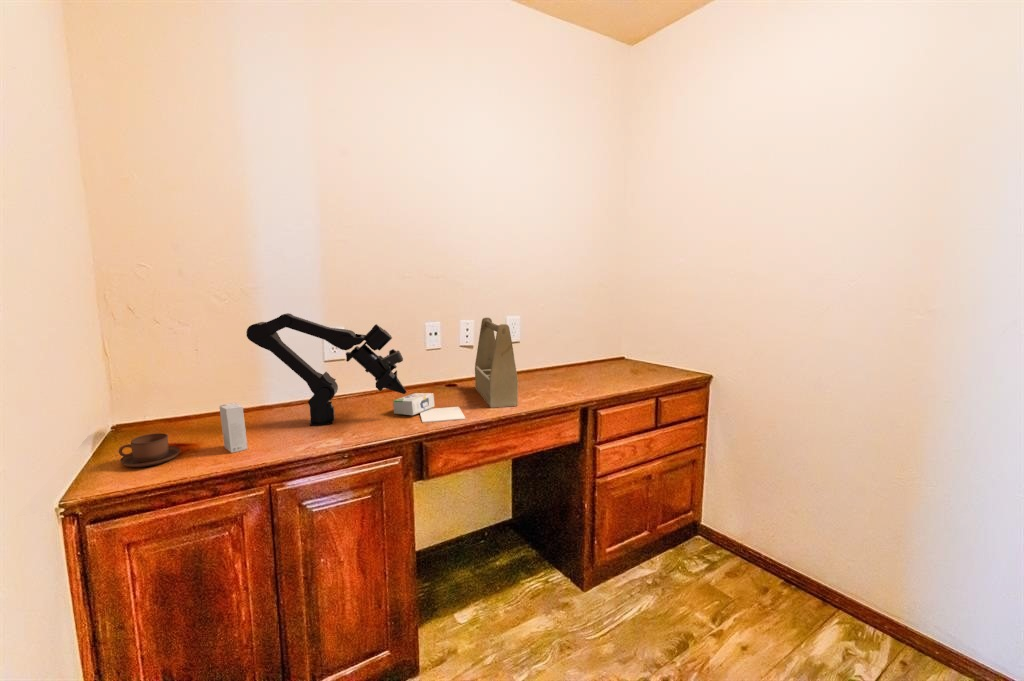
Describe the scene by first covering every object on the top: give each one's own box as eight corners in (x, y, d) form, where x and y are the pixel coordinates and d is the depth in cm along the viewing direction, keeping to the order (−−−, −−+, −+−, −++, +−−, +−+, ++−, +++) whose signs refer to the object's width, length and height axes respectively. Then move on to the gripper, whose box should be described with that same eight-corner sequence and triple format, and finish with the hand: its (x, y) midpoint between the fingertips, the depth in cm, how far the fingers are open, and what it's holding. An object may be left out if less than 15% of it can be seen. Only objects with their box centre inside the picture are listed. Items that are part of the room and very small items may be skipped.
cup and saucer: (127, 475, 109) (124, 450, 108) (116, 462, 117) (113, 439, 116) (187, 460, 118) (184, 437, 118) (173, 449, 126) (171, 427, 125)
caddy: (474, 389, 193) (473, 317, 189) (499, 387, 196) (499, 316, 191) (489, 408, 165) (489, 324, 161) (518, 406, 168) (518, 323, 163)
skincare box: (248, 449, 126) (244, 406, 124) (229, 454, 122) (225, 409, 121) (240, 443, 130) (237, 401, 128) (222, 448, 126) (218, 405, 125)
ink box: (412, 415, 153) (435, 407, 164) (411, 400, 153) (434, 393, 163) (393, 414, 158) (416, 406, 168) (392, 399, 157) (415, 392, 167)
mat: (422, 422, 148) (422, 421, 148) (418, 410, 162) (418, 409, 162) (465, 419, 152) (465, 418, 152) (458, 407, 165) (458, 406, 165)
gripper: (385, 347, 140) (423, 381, 144) (389, 339, 158) (422, 369, 162) (359, 373, 140) (397, 407, 143) (365, 362, 158) (399, 392, 161)
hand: (405, 392), depth 153 cm, fingers closed
